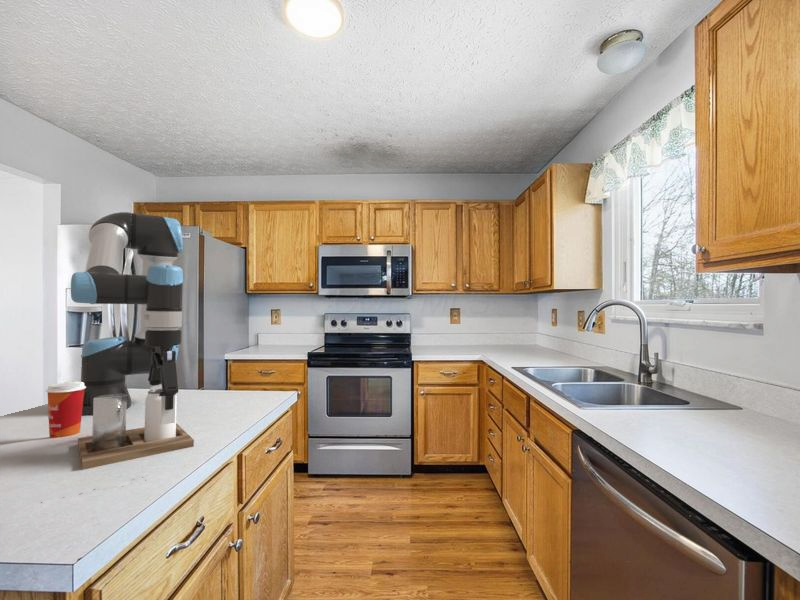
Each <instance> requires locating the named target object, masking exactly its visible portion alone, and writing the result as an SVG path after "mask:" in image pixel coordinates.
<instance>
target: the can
mask: <svg viewBox="0 0 800 600" xmlns="http://www.w3.org/2000/svg"><path fill="white" fill-rule="evenodd" d="M160 392H162V389H155V390H151V391H150V390H149V391H147V396H146V398H145V403H144V405H145V407H144V408H145V409H144V427H145V434H144V441H145V442H151V441H156V440H161V439H166V438H172V437H176V423H177V407H178V406H177V405H178V402H177V401H178V397H177V393H176V394H175V423H169V424H163V425H161V424H160V422H161V396H159V394H160Z"/></svg>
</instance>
